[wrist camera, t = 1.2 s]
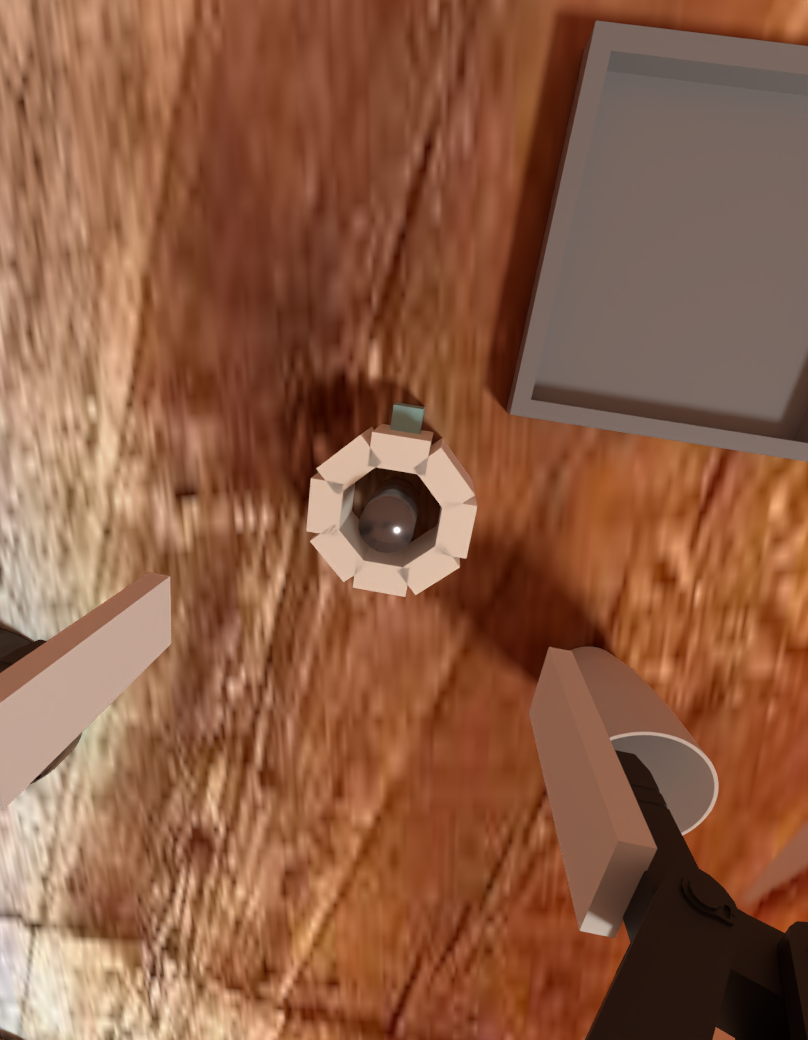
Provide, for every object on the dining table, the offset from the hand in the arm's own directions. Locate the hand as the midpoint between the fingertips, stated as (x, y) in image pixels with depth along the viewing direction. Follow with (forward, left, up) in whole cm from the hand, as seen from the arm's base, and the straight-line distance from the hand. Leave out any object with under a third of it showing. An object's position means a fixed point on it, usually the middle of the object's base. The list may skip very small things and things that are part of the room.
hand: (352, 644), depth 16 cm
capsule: (0, 0, -17) cm, 17 cm away
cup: (+16, -11, -17) cm, 25 cm away
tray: (+15, +16, -17) cm, 28 cm away
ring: (0, 0, -17) cm, 17 cm away
